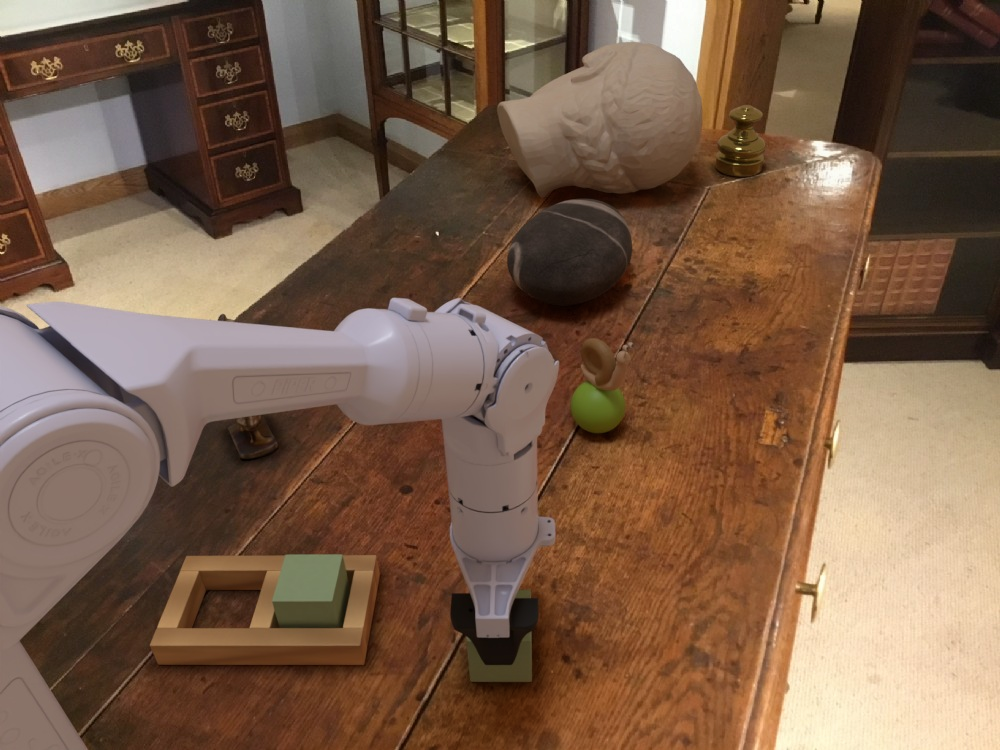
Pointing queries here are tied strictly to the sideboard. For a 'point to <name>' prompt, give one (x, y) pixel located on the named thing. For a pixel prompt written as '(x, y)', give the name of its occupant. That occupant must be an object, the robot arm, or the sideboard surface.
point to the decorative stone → (570, 252)
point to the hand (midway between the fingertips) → (499, 615)
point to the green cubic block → (312, 591)
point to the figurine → (251, 431)
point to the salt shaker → (741, 145)
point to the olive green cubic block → (503, 673)
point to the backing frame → (261, 617)
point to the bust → (608, 122)
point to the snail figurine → (600, 387)
